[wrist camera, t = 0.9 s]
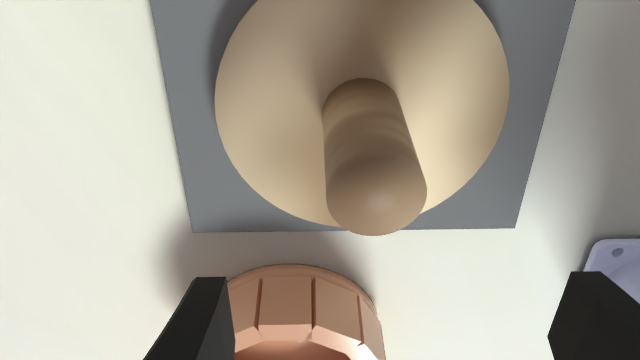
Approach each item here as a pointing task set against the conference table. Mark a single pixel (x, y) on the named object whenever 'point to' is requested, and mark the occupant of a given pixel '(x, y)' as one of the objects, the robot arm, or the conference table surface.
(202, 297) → the robot arm
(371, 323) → the bowl
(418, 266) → the conference table surface
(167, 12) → the mat
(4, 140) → the conference table surface
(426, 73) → the lid
